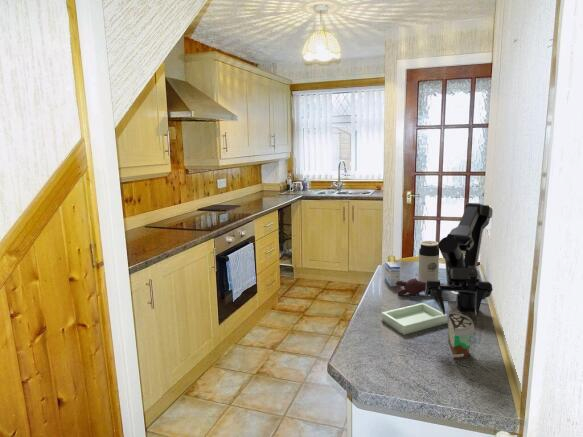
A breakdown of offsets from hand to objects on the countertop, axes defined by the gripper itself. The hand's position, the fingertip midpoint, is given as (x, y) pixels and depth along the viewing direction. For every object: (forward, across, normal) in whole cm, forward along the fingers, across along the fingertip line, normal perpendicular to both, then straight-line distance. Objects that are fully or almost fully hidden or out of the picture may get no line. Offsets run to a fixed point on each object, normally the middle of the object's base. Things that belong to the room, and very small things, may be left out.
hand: (460, 315), depth 125 cm
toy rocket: (-22, -9, +37) cm, 44 cm away
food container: (+10, 0, +5) cm, 11 cm away
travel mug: (-32, -3, +46) cm, 56 cm away
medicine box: (-31, -18, +45) cm, 58 cm away
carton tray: (-4, -12, +18) cm, 22 cm away
